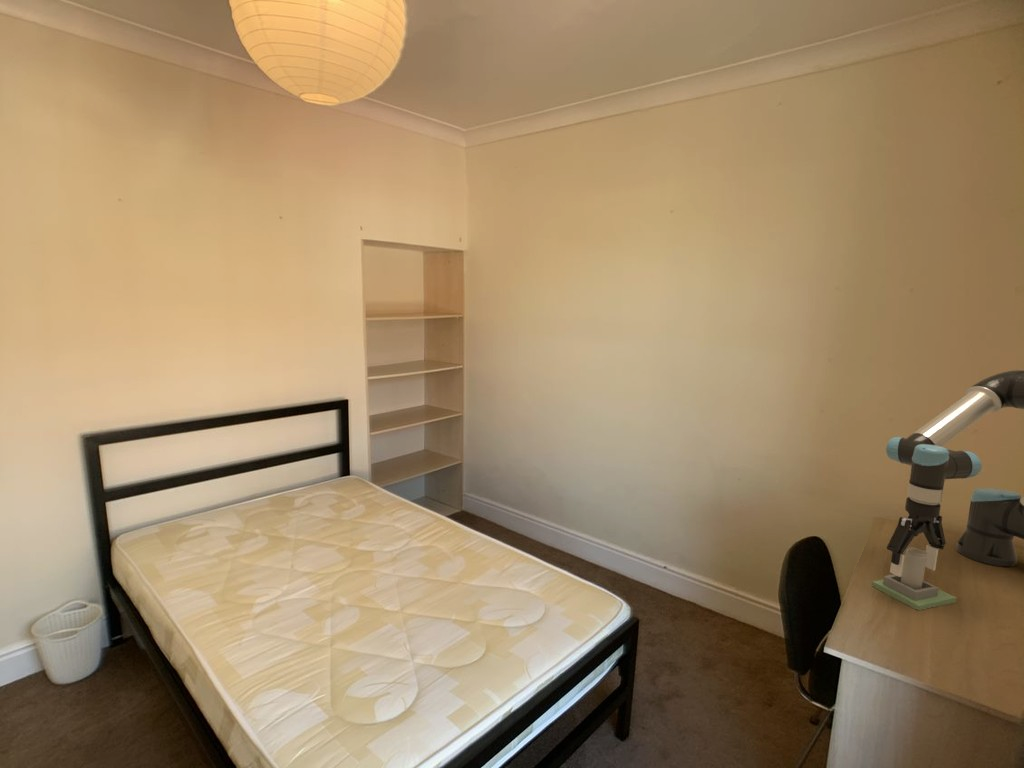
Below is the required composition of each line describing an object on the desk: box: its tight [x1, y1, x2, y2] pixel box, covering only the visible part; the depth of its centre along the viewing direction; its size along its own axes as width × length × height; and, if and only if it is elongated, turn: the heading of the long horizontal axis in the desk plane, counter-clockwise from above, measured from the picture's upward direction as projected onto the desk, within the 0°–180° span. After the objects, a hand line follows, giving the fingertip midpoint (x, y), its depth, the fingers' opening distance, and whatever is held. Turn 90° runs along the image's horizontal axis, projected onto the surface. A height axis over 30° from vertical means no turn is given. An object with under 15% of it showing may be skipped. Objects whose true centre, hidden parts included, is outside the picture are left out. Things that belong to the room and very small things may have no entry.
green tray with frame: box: [871, 574, 957, 611], centre depth 148 cm, size 15×13×4 cm
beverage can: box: [900, 546, 927, 590], centre depth 146 cm, size 5×5×12 cm
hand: (912, 571), depth 146 cm, fingers open, 13 cm apart
